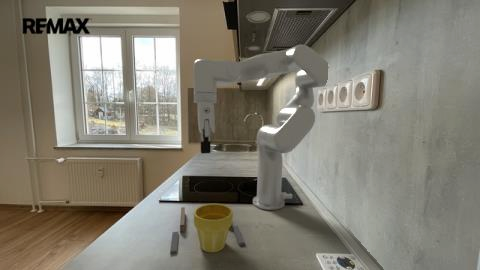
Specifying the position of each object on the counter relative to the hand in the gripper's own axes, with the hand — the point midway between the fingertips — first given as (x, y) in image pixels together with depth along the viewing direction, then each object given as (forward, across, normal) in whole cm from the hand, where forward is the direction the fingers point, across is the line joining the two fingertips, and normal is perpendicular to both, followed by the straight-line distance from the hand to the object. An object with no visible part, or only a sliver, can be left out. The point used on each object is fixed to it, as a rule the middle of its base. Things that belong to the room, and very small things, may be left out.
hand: (205, 152), depth 75 cm
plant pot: (+22, -18, 0) cm, 29 cm away
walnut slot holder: (+22, -5, +1) cm, 23 cm away
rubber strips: (+22, -16, +1) cm, 27 cm away
